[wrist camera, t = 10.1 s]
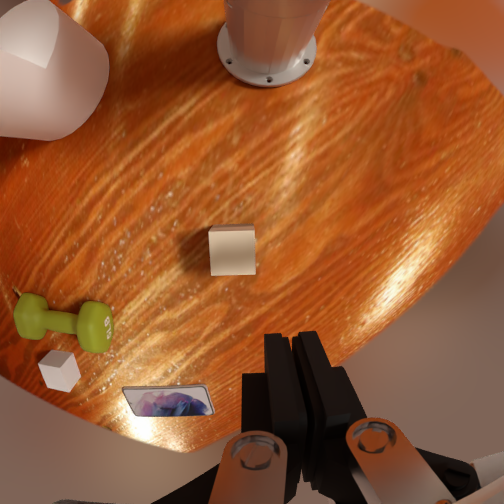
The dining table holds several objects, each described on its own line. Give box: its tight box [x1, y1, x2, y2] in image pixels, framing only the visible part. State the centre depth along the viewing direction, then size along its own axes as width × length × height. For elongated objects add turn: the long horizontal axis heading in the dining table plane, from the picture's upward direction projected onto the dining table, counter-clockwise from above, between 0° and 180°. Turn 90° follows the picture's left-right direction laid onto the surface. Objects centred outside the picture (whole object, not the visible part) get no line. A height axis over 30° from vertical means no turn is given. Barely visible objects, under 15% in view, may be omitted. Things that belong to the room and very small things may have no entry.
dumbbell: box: [13, 293, 114, 353], centre depth 37 cm, size 16×8×7 cm, turn 87°
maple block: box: [209, 224, 255, 276], centre depth 36 cm, size 5×5×5 cm
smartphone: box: [122, 384, 215, 417], centre depth 44 cm, size 7×1×15 cm
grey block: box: [38, 350, 81, 392], centre depth 40 cm, size 5×5×5 cm
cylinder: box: [0, 0, 110, 141], centre depth 18 cm, size 17×17×28 cm
